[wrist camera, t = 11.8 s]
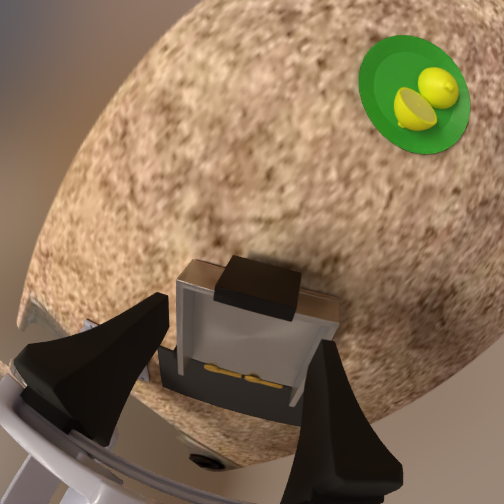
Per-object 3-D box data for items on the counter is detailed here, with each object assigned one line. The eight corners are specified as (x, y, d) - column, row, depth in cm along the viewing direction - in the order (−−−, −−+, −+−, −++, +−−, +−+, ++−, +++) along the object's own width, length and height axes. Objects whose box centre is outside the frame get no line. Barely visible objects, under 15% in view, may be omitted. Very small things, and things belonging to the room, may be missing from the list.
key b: (243, 376, 28) (243, 379, 28) (246, 374, 26) (245, 377, 26) (279, 386, 28) (278, 389, 28) (284, 384, 27) (283, 387, 26)
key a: (204, 366, 29) (204, 369, 28) (204, 363, 27) (203, 365, 27) (241, 376, 28) (240, 379, 28) (242, 373, 27) (241, 375, 27)
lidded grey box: (297, 383, 27) (291, 424, 22) (189, 353, 28) (169, 389, 24) (347, 275, 20) (353, 321, 15) (194, 235, 21) (161, 270, 17)
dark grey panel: (163, 385, 34) (162, 386, 34) (158, 344, 29) (156, 346, 29) (305, 425, 32) (305, 427, 31) (329, 393, 27) (329, 395, 27)
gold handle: (309, 387, 27) (308, 395, 26) (177, 350, 29) (173, 357, 28) (313, 381, 27) (312, 390, 26) (177, 343, 28) (173, 350, 27)
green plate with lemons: (435, 175, 15) (452, 186, 13) (335, 109, 15) (339, 107, 13) (480, 87, 11) (501, 86, 9) (385, 16, 11) (395, 2, 9)
